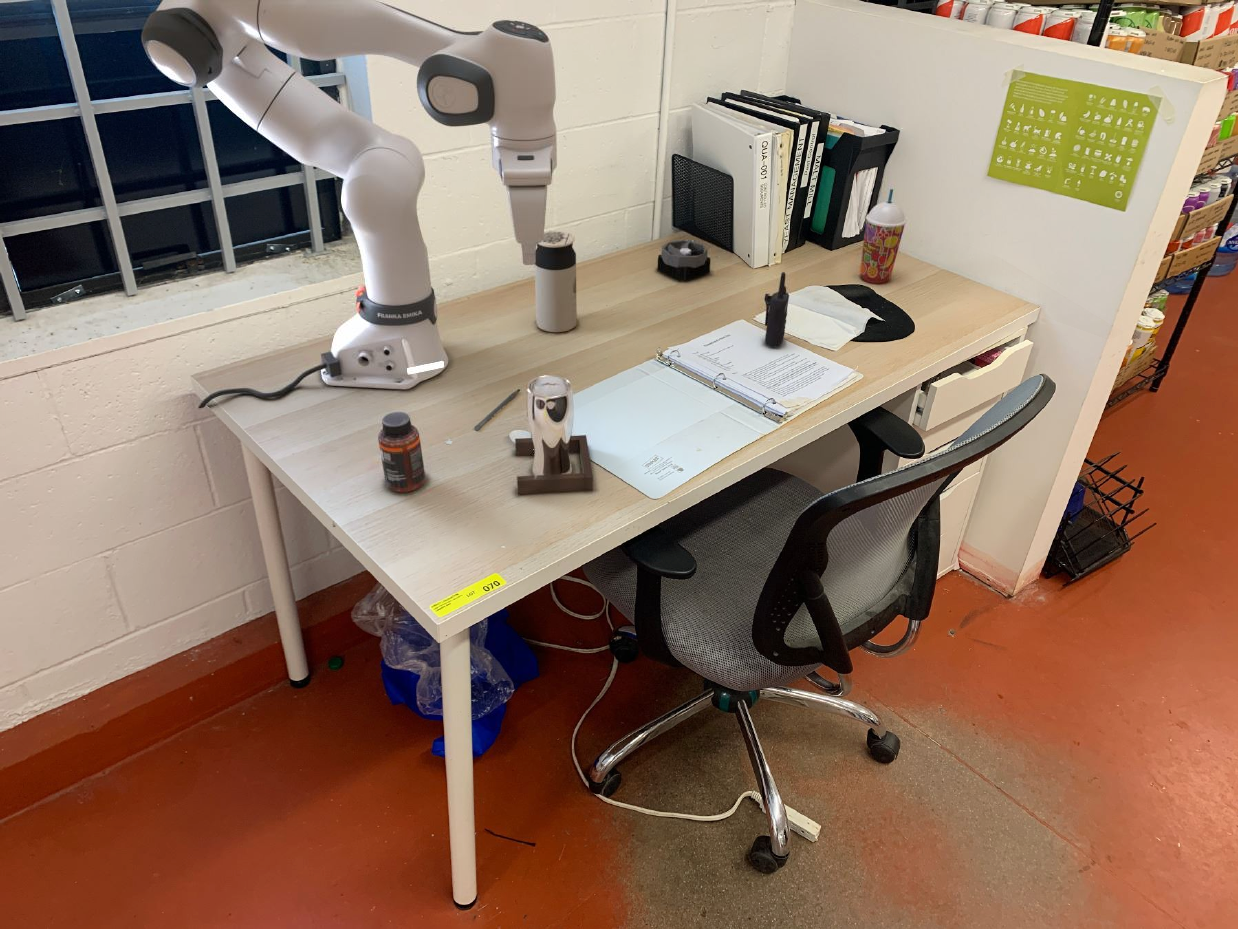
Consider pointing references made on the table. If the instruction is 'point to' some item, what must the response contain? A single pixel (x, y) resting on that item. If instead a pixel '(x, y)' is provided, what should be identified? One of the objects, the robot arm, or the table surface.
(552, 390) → the beer glass
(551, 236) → the travel mug
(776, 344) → the two-way radio
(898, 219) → the smoothie
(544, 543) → the table surface
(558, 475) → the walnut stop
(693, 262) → the cpu cooler
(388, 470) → the supplement bottle
